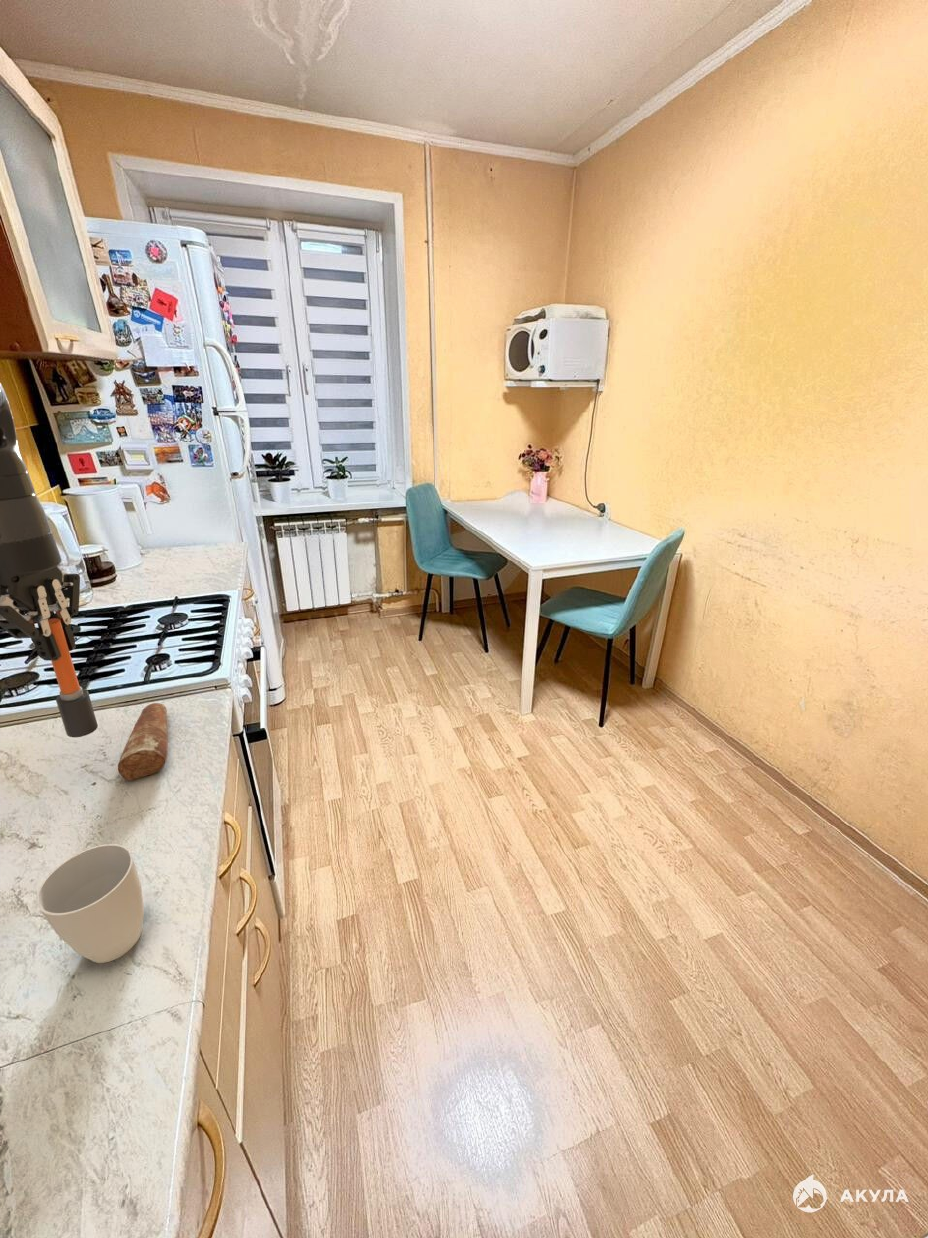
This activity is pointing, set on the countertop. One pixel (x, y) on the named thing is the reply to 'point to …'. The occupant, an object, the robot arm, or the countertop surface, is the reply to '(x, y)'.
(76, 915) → the cup
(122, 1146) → the countertop surface
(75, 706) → the brush
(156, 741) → the bread
